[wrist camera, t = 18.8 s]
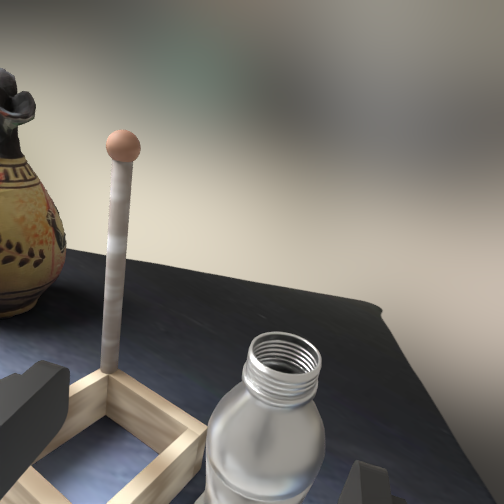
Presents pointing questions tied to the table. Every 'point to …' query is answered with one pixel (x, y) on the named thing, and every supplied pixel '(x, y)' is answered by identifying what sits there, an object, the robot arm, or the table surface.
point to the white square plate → (200, 499)
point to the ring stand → (122, 381)
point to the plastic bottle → (267, 427)
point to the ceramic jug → (24, 213)
